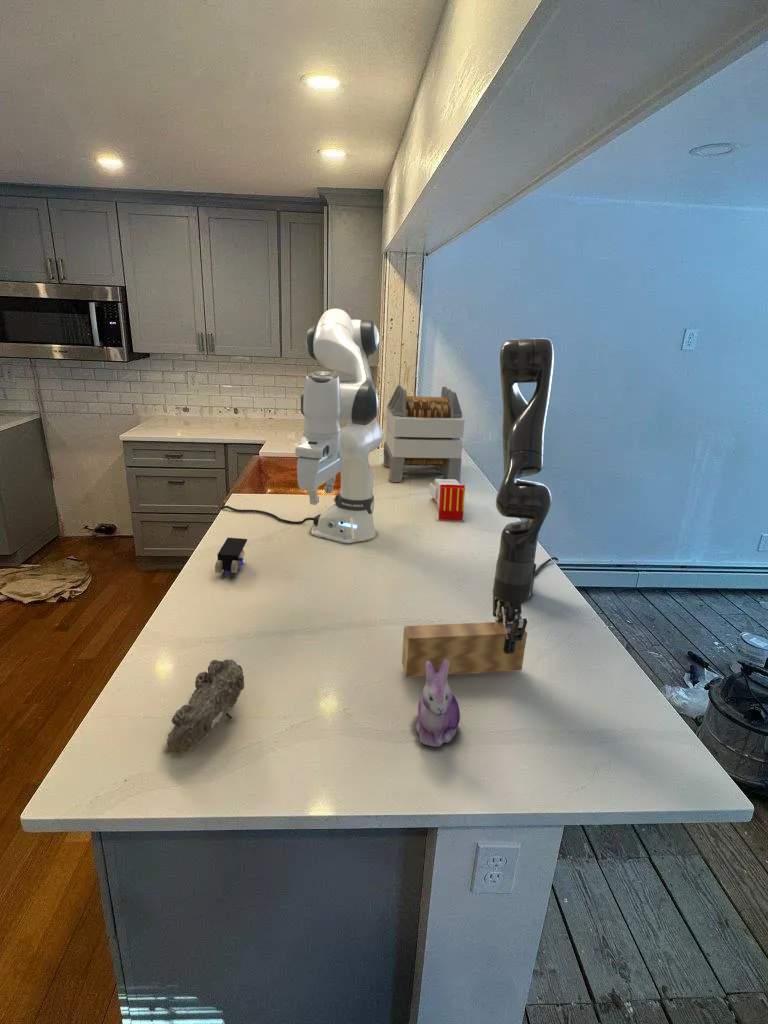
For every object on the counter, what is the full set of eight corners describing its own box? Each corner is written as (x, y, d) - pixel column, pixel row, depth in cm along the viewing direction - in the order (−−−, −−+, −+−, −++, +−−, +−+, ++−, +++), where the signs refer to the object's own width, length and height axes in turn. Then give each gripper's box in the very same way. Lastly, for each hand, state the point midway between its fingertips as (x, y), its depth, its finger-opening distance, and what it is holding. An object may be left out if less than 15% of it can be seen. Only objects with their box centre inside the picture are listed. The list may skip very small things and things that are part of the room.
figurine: (430, 757, 101) (436, 686, 95) (402, 721, 109) (406, 654, 104) (473, 741, 105) (481, 672, 100) (443, 707, 113) (449, 643, 108)
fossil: (192, 660, 117) (244, 628, 112) (224, 691, 120) (276, 661, 115) (142, 746, 98) (202, 712, 93) (182, 779, 101) (242, 748, 96)
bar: (405, 676, 120) (408, 638, 116) (401, 663, 124) (404, 625, 121) (521, 670, 124) (527, 632, 121) (513, 657, 128) (518, 620, 125)
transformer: (382, 463, 289) (386, 382, 275) (445, 464, 293) (451, 384, 279) (390, 482, 257) (394, 392, 243) (460, 483, 261) (468, 394, 247)
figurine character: (238, 584, 162) (249, 557, 175) (236, 562, 158) (247, 536, 172) (215, 584, 161) (227, 556, 175) (212, 561, 158) (225, 535, 171)
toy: (456, 474, 239) (469, 486, 210) (455, 506, 242) (467, 521, 213) (428, 474, 239) (436, 485, 210) (426, 505, 242) (435, 520, 212)
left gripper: (325, 433, 144) (325, 485, 149) (291, 450, 125) (292, 509, 130) (349, 435, 143) (348, 487, 147) (318, 453, 124) (318, 512, 129)
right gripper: (544, 590, 112) (533, 664, 118) (517, 560, 125) (508, 627, 131) (508, 592, 111) (499, 666, 117) (485, 561, 124) (477, 629, 130)
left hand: (321, 498), depth 139 cm, fingers open, 8 cm apart
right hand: (504, 645), depth 124 cm, fingers closed on bar, 5 cm apart
